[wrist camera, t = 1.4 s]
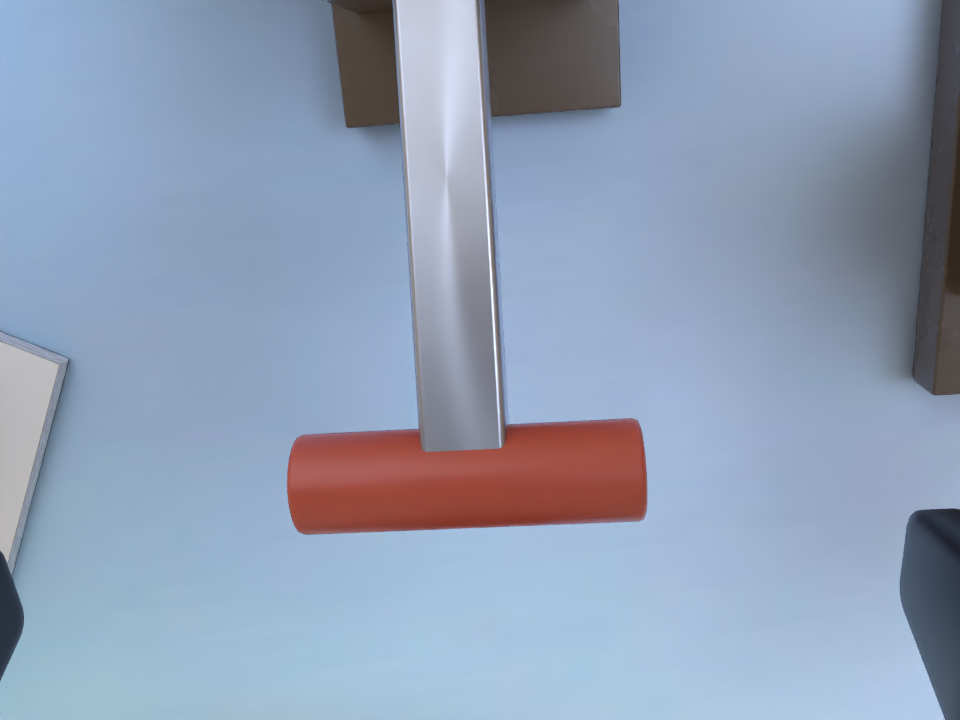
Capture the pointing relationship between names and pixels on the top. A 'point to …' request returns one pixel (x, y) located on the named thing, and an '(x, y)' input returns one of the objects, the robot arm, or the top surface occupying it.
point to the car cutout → (23, 430)
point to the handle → (459, 339)
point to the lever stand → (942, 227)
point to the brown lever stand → (491, 57)
